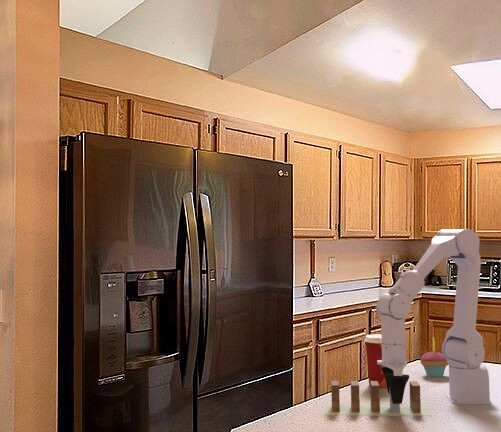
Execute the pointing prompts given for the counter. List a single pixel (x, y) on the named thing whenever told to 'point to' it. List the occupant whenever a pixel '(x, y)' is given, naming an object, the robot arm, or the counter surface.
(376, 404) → the tile
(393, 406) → the tile
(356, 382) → the tile
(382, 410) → the mat
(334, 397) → the tile
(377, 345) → the paper cup
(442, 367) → the cupcake
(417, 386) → the tile
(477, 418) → the counter surface
